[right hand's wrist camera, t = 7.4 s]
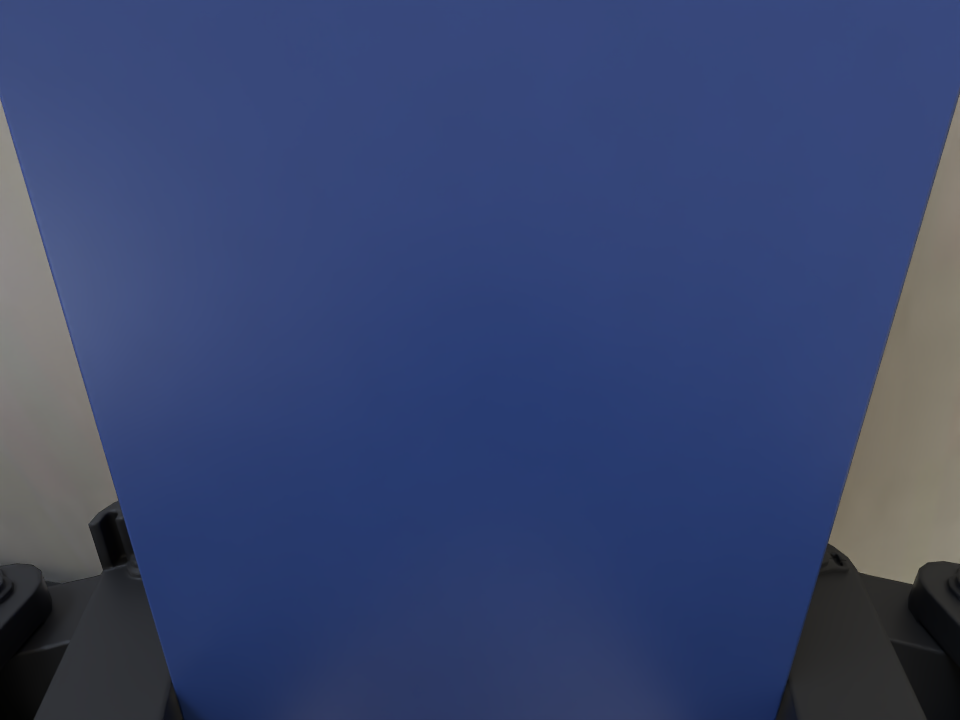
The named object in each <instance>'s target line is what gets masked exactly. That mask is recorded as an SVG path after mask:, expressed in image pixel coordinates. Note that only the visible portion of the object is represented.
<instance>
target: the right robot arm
mask: <svg viewBox="0 0 960 720" xmlns="http://www.w3.org/2000/svg"><path fill="white" fill-rule="evenodd" d="M88 525H89V528H90V531H91V534H92V537H93V540H94V543H95V546H96V549H97V552H98V556H99V559H100V562H101V565H102V568H103V572H102V574H101V575H98V576H95V577H91V578H86V579H81V580H77V581H72V582H68V583H63V584H58V585H54V586H49V587H47V585H46V583H45V580H44V577H43V575H42V572H41V571H40V570H39V569H38V568H36V567H35V566H33V565H28V564H12V565H6V566H0V720H183V717H182V714H181V711H180V707H179V704H178V700H177V697H176V694H175V690H174V687H173V683H172V680H171V677H170V673H169V670H168V666H167V663H166V660H165V656H164V653H163V649H162V646H161V643H160V639H159V636H158V632H157V629H156V626H155V622H154V619H153V615H152V612H151V609H150V605H149V602H148V598H147V595H146V592H145V588H144V585H143V581H142V578H141V575H140V571H139V568H138V564H137V561H136V558H135V554H134V551H133V547H132V544H131V541H130V537H129V534H128V530H127V527H126V524H125V520H124V517H123V513H122V510H121V507H120V503H119V501H117V502H114V503H113V504H111V505H110V506H108V507H107V508H105V509H104V510H102V511H101V512H99V513H98V514H97V515H96V516H95V517H94V518H93V520H92V521H91V522H90V523H89V524H88ZM776 720H960V564H957V563H951V562H945V561H940V562H928V563H926V564H925V565H924V566H922V567H921V568H919V571H918V573H917V576H916V579H915V581H914V584H913V585H912V584H908V583H903V582H899V581H894V580H889V579H885V578H880V577H875V576H871V575H866V574H863V573H859V572H858V571H857V569H856V568H855V566H854V565H853V564H852V562H851V561H850V560H849V558H848V557H847V556H845V555H844V554H843V553H841V552H840V551H839V550H837V549H836V548H835V547H834V546H832V545H830V544H827V547H826V551H825V554H824V558H823V561H822V565H821V568H820V571H819V575H818V578H817V582H816V585H815V588H814V592H813V595H812V599H811V602H810V605H809V609H808V612H807V616H806V619H805V622H804V626H803V629H802V633H801V636H800V640H799V643H798V646H797V650H796V653H795V657H794V660H793V663H792V667H791V670H790V674H789V677H788V680H787V684H786V687H785V691H784V694H783V698H782V701H781V704H780V708H779V711H778V715H777V718H776Z"/></svg>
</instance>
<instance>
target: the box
mask: <svg viewBox="0 0 960 720" xmlns="http://www.w3.org/2000/svg"><path fill="white" fill-rule="evenodd" d="M959 94H960V0H0V99H1V102H2V106H3V109H4V112H5V116H6V119H7V123H8V126H9V129H10V133H11V136H12V140H13V143H14V146H15V150H16V153H17V157H18V160H19V163H20V167H21V170H22V174H23V177H24V180H25V184H26V187H27V191H28V194H29V197H30V201H31V204H32V208H33V211H34V214H35V218H36V221H37V225H38V228H39V231H40V235H41V238H42V242H43V245H44V248H45V252H46V255H47V259H48V262H49V265H50V269H51V272H52V276H53V279H54V282H55V286H56V289H57V293H58V296H59V299H60V303H61V306H62V310H63V313H64V316H65V320H66V323H67V327H68V330H69V333H70V337H71V340H72V344H73V347H74V350H75V354H76V357H77V361H78V364H79V367H80V371H81V374H82V378H83V381H84V384H85V388H86V391H87V395H88V398H89V401H90V405H91V408H92V411H93V415H94V418H95V422H96V425H97V428H98V432H99V435H100V439H101V442H102V445H103V449H104V452H105V456H106V459H107V462H108V466H109V469H110V473H111V476H112V479H113V483H114V486H115V490H116V493H117V496H118V500H119V503H120V507H121V510H122V513H123V517H124V520H125V524H126V527H127V530H128V534H129V537H130V541H131V544H132V547H133V551H134V554H135V558H136V561H137V564H138V568H139V571H140V575H141V578H142V581H143V585H144V588H145V592H146V595H147V598H148V602H149V605H150V609H151V612H152V615H153V619H154V622H155V626H156V629H157V632H158V636H159V639H160V643H161V646H162V649H163V653H164V656H165V660H166V663H167V666H168V670H169V673H170V677H171V680H172V683H173V687H174V690H175V694H176V697H177V700H178V704H179V707H180V711H181V714H182V717H183V720H776V718H777V715H778V711H779V708H780V704H781V701H782V698H783V694H784V691H785V687H786V684H787V680H788V677H789V674H790V670H791V667H792V663H793V660H794V657H795V653H796V650H797V646H798V643H799V640H800V636H801V633H802V629H803V626H804V622H805V619H806V616H807V612H808V609H809V605H810V602H811V599H812V595H813V592H814V588H815V585H816V582H817V578H818V575H819V571H820V568H821V565H822V561H823V558H824V554H825V551H826V547H827V544H828V541H829V537H830V534H831V530H832V527H833V524H834V520H835V517H836V513H837V510H838V507H839V503H840V500H841V496H842V493H843V490H844V486H845V483H846V479H847V476H848V472H849V469H850V466H851V462H852V459H853V455H854V452H855V449H856V445H857V442H858V438H859V435H860V432H861V428H862V425H863V421H864V418H865V415H866V411H867V408H868V404H869V401H870V397H871V394H872V391H873V387H874V384H875V380H876V377H877V374H878V370H879V367H880V363H881V360H882V357H883V353H884V350H885V346H886V343H887V339H888V336H889V333H890V329H891V326H892V322H893V319H894V316H895V312H896V309H897V305H898V302H899V299H900V295H901V292H902V288H903V285H904V282H905V278H906V275H907V271H908V268H909V264H910V261H911V258H912V254H913V251H914V247H915V244H916V241H917V237H918V234H919V230H920V227H921V224H922V220H923V217H924V213H925V210H926V207H927V203H928V200H929V196H930V193H931V189H932V186H933V183H934V179H935V176H936V172H937V169H938V166H939V162H940V159H941V155H942V152H943V149H944V145H945V142H946V138H947V135H948V131H949V128H950V125H951V121H952V118H953V114H954V111H955V108H956V104H957V101H958V97H959Z"/></svg>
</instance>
